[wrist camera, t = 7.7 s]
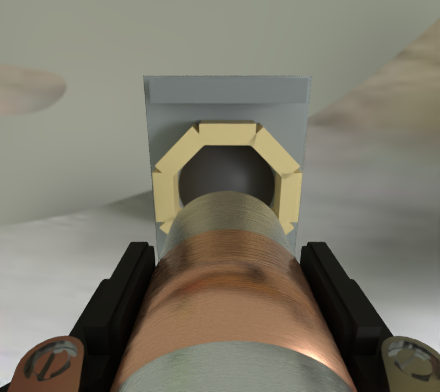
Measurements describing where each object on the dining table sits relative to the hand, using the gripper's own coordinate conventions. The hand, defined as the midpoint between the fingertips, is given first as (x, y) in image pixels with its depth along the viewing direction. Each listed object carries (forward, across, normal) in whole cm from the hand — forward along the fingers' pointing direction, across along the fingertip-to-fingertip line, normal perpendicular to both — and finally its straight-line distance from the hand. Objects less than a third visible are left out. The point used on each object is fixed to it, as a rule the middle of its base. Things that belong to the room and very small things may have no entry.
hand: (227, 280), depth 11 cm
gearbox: (+18, 0, 0) cm, 18 cm away
